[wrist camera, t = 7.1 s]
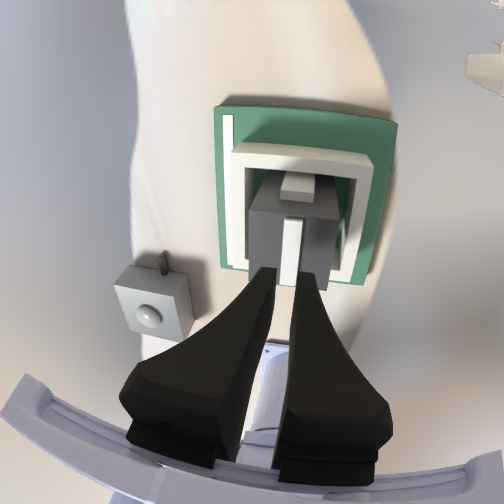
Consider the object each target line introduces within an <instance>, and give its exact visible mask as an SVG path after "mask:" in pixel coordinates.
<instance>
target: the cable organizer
mask: <svg viewBox="0 0 504 504" xmlns="http://www.w3.org/2000/svg"><path fill="white" fill-rule="evenodd" d="M491 3H492V4H495V5H497V7H498V9H504V0H499V2H491ZM494 43H496V44H498V45H500V54H469V55H467V63H466V77H467V78H468V79H470V80H471V81H473V82H475V83H477V84H478V85H480V86H482V87H484V88H486V89H488V90H491V91H493V92H495V93H497V94H499V95H501V96H503V97H504V41H503V42H501V43H499V42H494Z"/></svg>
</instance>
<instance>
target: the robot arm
mask: <svg viewBox="0 0 504 504" xmlns="http://www.w3.org/2000/svg"><path fill="white" fill-rule="evenodd" d="M276 277H277V268H271V267H263V266H262V267H260V268H259V269H258V271H257V273H256V274H255V275H254V277H253V278H252V279H251V281H250V282H249V283H248V284H247V286H246V287H245V288H244V289H243V290H242V291H241V293H240V294H239V295H238V296H237V297H236V298H235V299H234V300H233V301H232V302H231V303H230V304H229V305H228V306H227V307H226V308H225V309H224V310H223V311H222V312H221V313H220V314H219V315H218V316H217V317H215V318H214V319H213V320H212V321H211V322H209V323H208V324H207V325H206V326H204V327H203V328H202V329H200V330H199V331H197V332H196V333H195V334H193V335H192V336H190V337H189V338H187V339H186V340H184V341H182V342H180V343H179V344H177V345H175V346H173V347H172V348H170V349H168V350H166V351H164V352H162V353H160V354H158V355H156V356H154V357H151V358H149V359H147V360H144V361H142V362H139V363H138V364H137V365H136V367H135V368H134V369H133V371H132V372H131V374H130V375H129V377H128V379H127V380H126V382H125V384H124V386H123V388H122V390H121V392H120V394H119V400H120V402H121V404H122V405H123V407H124V408H125V410H126V411H127V412H128V414H129V415H130V416H131V418H132V419H133V421H132V424H131V426H130V428H129V430H128V431H127V430H125V429H122V428H119V427H117V426H115V425H113V424H110V423H108V422H105V421H103V420H101V419H99V418H97V417H95V416H92V415H90V414H88V413H86V412H84V411H82V410H80V409H78V408H76V407H74V406H72V405H71V404H69V403H67V402H65V401H63V400H61V399H59V398H57V397H56V396H54V395H53V393H52V392H51V391H50V389H49V388H47V387H46V386H45V385H44V384H43V383H42V382H40V381H38V380H36V379H35V378H33V377H32V376H30V375H29V374H25V375H24V376H23V378H22V379H21V381H20V382H19V384H18V385H17V387H16V389H15V390H14V392H13V393H12V395H11V396H10V398H9V399H8V401H7V403H6V404H5V406H4V407H3V409H2V411H1V412H0V417H2V418H3V419H4V420H5V421H6V422H7V423H9V424H10V425H11V426H12V427H13V428H15V429H16V430H17V431H18V432H20V433H21V434H22V435H23V436H25V437H26V438H27V439H29V440H30V441H31V442H33V443H34V444H36V445H37V446H38V447H40V448H41V449H42V450H44V451H45V452H47V453H48V454H50V455H51V456H53V457H54V458H56V459H57V460H59V461H60V462H62V463H64V464H65V465H67V466H68V467H70V468H72V469H73V470H75V471H77V472H79V473H80V474H82V475H84V476H86V477H88V478H89V479H91V480H93V481H95V482H97V483H99V484H101V485H103V486H105V487H107V488H109V489H111V490H113V491H114V494H113V496H112V499H111V501H110V503H109V504H504V470H503V461H502V453H501V450H498V451H495V452H490V453H486V454H482V455H479V456H477V457H474V458H473V459H471V460H469V461H468V462H467V463H466V464H462V465H457V466H452V467H446V468H440V469H433V470H427V471H418V472H408V473H398V474H382V475H374V471H375V462H377V460H378V450H379V449H380V448H381V447H382V446H383V445H384V444H385V443H386V442H388V441H389V440H390V438H391V437H392V436H393V422H392V417H391V412H390V408H389V404H388V402H387V401H386V400H385V399H384V398H383V397H382V396H381V395H380V394H379V393H378V392H377V391H376V390H375V389H374V388H373V386H372V385H371V384H370V383H369V382H368V380H367V379H366V378H365V377H364V376H363V374H362V373H361V371H360V370H359V369H358V367H357V366H356V365H355V363H354V362H353V360H352V359H351V358H350V356H349V354H348V353H347V351H346V350H345V348H344V346H343V345H342V343H341V341H340V339H339V338H338V336H337V334H336V332H335V330H334V328H333V326H332V324H331V321H330V319H329V317H328V315H327V312H326V310H325V307H324V304H323V302H322V299H321V296H320V293H319V290H318V286H317V282H316V275H315V274H314V273H311V272H303V271H298V274H297V282H296V290H295V297H294V304H293V311H292V318H291V325H290V337H289V345H283V344H276V343H269V342H266V339H267V336H268V333H269V329H270V326H271V321H272V315H273V310H274V303H275V290H276ZM265 342H266V343H265ZM261 355H262V366H261V382H260V392H259V397H258V401H257V405H256V409H255V414H254V418H253V422H252V426H251V430H250V431H246V432H245V436H244V440H241V435H242V431H243V426H244V421H245V417H246V412H247V408H248V403H249V399H250V394H251V390H252V385H253V381H254V377H255V373H256V370H257V367H258V364H259V361H260V358H261ZM156 462H157V463H156ZM159 463H160V464H159ZM161 464H163V465H166V466H169V467H172V468H175V469H172V468H166V467H163V466H162V465H161ZM176 469H178V470H176ZM180 470H181V471H180ZM184 471H185V472H184ZM191 473H192V474H191ZM198 475H199V476H198ZM202 476H203V477H202Z"/></svg>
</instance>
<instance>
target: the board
mask: <svg viewBox="0 0 504 504" xmlns="http://www.w3.org/2000/svg"><path fill="white" fill-rule="evenodd" d="M397 128H398V124H397V123H395V122H393V121H388V120H383V119H377V118H371V117H365V116H359V115H353V114H346V113H338V112H330V111H322V110H312V109H301V108H288V107H272V106H241V105H219V106H216V107H214V137H215V166H216V190H217V211H218V230H219V247H220V263H221V268H225V269H232V270H240V271H247V272H249V209H250V207H251V205H252V203H253V200H254V198H255V196H256V194H257V192H258V190H259V188H260V186H261V184H262V182H263V180H264V178H265V176H266V174H267V172H268V170H269V169H275V170H286V171H296V172H306V173H315V174H324V175H332V176H334V181H335V188H336V195H337V202H338V210H339V218H340V222H339V228H338V234H337V239H336V245H335V250H334V256H333V261H332V266H331V271H330V276H329V281H328V282H336V283H344V284H353V285H362V286H363V285H364V282H365V279H366V275H367V272H368V268H369V264H370V261H371V257H372V253H373V250H374V246H375V242H376V238H377V234H378V230H379V225H380V221H381V217H382V212H383V208H384V203H385V198H386V193H387V188H388V183H389V178H390V173H391V167H392V161H393V155H394V149H395V142H396V135H397Z"/></svg>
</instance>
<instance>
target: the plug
mask: <svg viewBox="0 0 504 504" xmlns="http://www.w3.org/2000/svg"><path fill="white" fill-rule="evenodd" d="M339 222H340V218H339V210H338V202H337V195H336V188H335V181H334V176H332V175H324V174H315V173H306V172H296V171H286V170H275V169H269V170H268V172H267V174H266V176H265V178H264V180H263V182H262V184H261V186H260V188H259V190H258V192H257V194H256V196H255V198H254V200H253V203H252V205H251V207H250V209H249V281H251V279H252V278H253V277H254V275H255V274H256V273H257V271H258V269H259V268H260V267H262V266H263V267H271V268H277V277H276V285H283V286H291V287H296V282H297V274H298V271H303V272H311V273H314V274H315V275H316V282H317V286H318V290H324V291H326V290H327V286H328V281H329V276H330V271H331V266H332V261H333V256H334V250H335V245H336V239H337V234H338V228H339Z"/></svg>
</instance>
